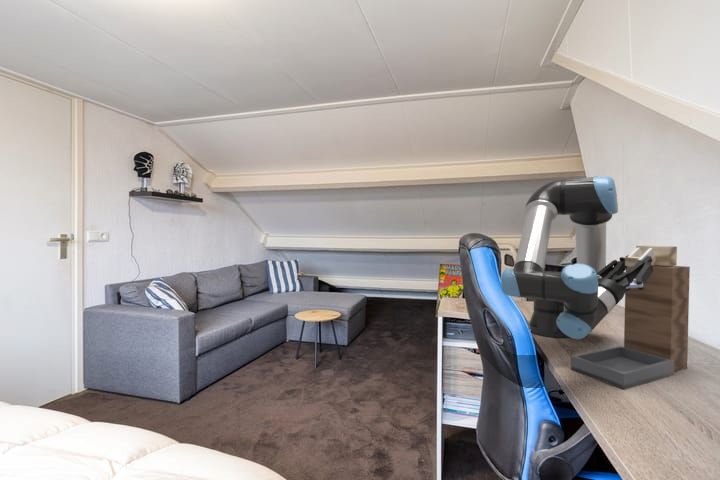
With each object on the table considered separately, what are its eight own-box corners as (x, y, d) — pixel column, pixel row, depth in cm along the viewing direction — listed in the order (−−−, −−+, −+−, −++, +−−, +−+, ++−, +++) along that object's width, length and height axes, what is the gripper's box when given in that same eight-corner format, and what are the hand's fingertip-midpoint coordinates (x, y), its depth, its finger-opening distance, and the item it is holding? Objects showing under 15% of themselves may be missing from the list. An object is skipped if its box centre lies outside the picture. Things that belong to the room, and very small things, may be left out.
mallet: (645, 267, 96) (646, 247, 95) (614, 265, 103) (615, 246, 103) (676, 265, 102) (676, 246, 102) (645, 262, 109) (645, 245, 109)
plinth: (670, 373, 98) (672, 267, 97) (623, 358, 109) (625, 264, 108) (687, 368, 102) (689, 266, 101) (640, 354, 113) (642, 263, 112)
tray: (623, 389, 88) (624, 374, 88) (570, 369, 101) (571, 355, 101) (673, 374, 97) (674, 360, 97) (619, 358, 110) (619, 345, 110)
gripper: (578, 302, 102) (620, 260, 110) (637, 313, 88) (682, 264, 96) (569, 281, 101) (613, 240, 109) (629, 289, 86) (675, 241, 94)
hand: (645, 251), depth 102 cm, fingers closed on mallet, 2 cm apart
